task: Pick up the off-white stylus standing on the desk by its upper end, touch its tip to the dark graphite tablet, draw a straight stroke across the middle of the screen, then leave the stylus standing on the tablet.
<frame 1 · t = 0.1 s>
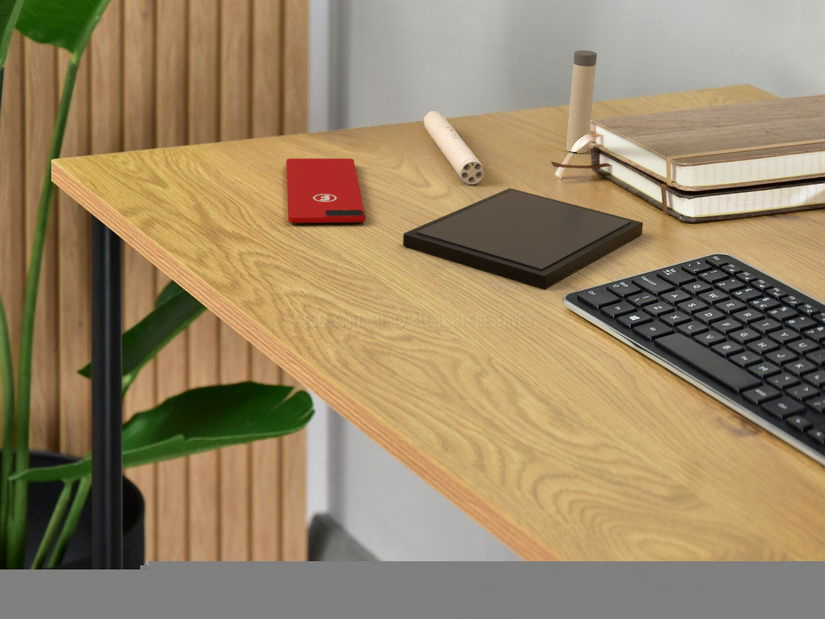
cream cylinder: (449, 155, 108), on the table
stylus: (576, 150, 111), on the table
electronic device: (323, 193, 97), on the table
tablet: (524, 240, 89), on the table
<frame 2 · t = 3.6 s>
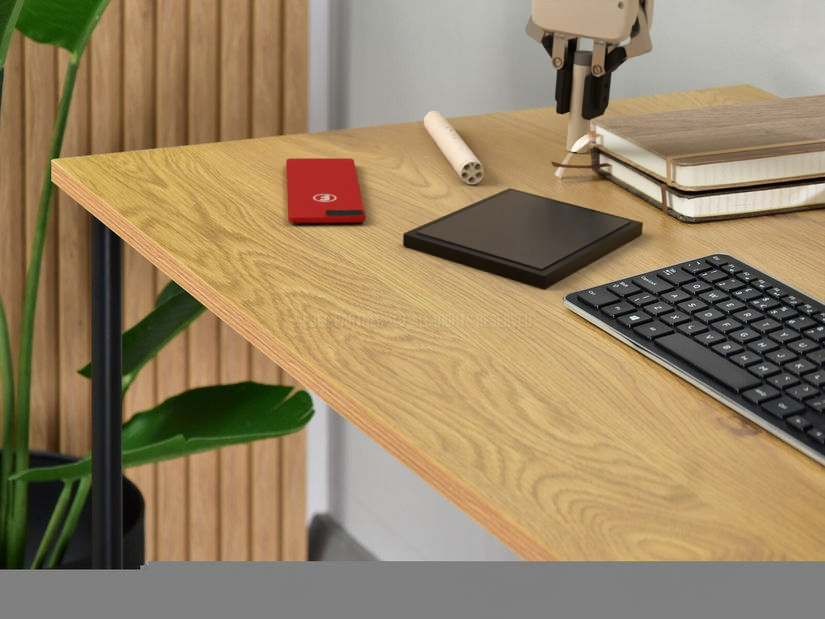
hand: (580, 112, 109), 4 cm above the table, tool pointing down, fingers closed on stylus, 2 cm apart
stylus: (577, 150, 111), on the table, touching gripper
everything else where it was.
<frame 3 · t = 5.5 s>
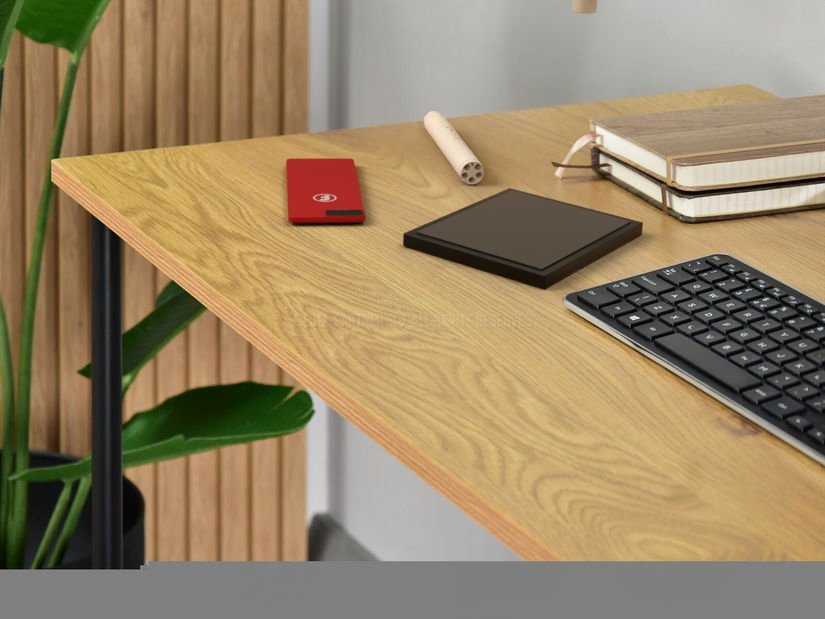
stylus: (584, 11, 100), point 14 cm above the table, touching gripper
everything else where it was.
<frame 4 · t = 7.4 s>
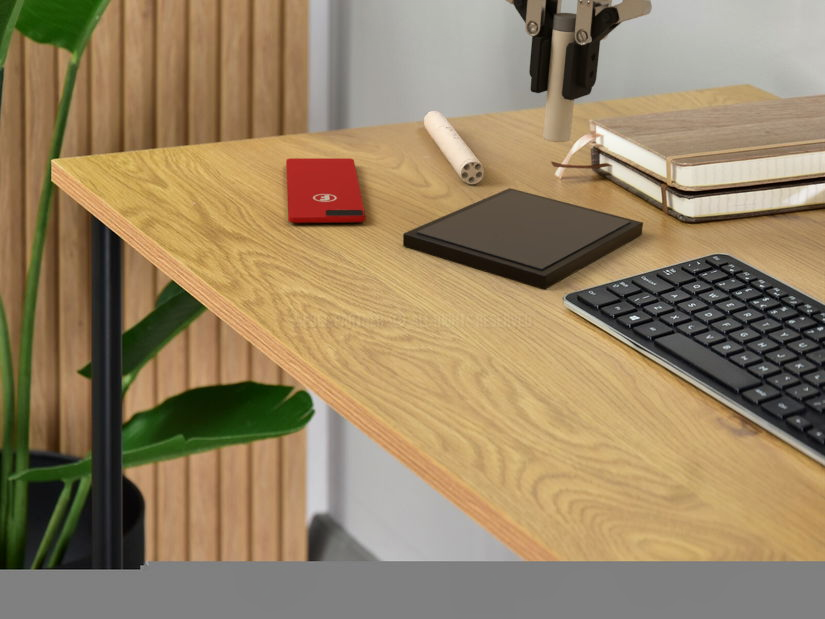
hand: (561, 91, 87), 10 cm above the table, tool pointing down, fingers closed on stylus
stylus: (556, 138, 89), point 7 cm above the table, touching gripper
everything else where it was.
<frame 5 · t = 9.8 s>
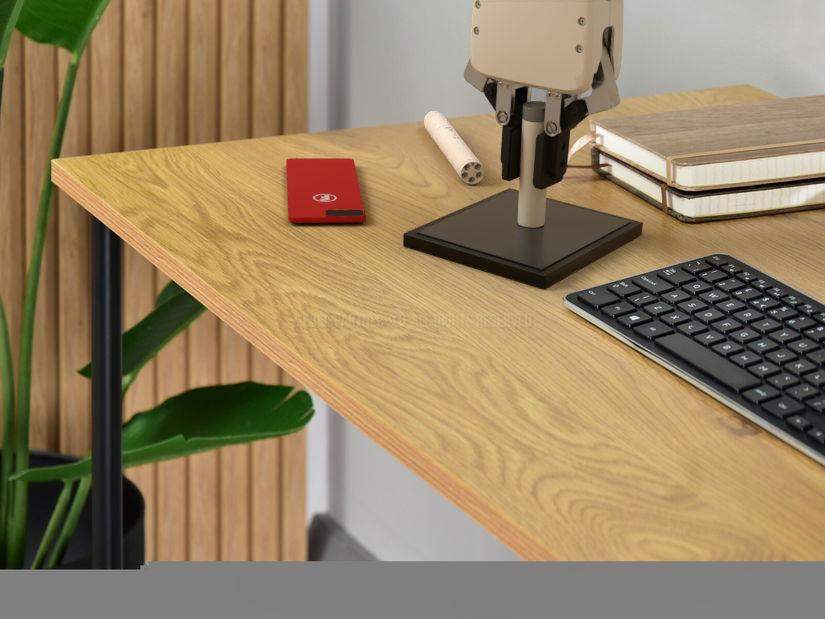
hand: (532, 178, 87), 5 cm above the table, tool pointing down, fingers closed on stylus, 2 cm apart
stylus: (531, 223, 89), point 1 cm above the table, touching gripper, tablet
everything else where it was.
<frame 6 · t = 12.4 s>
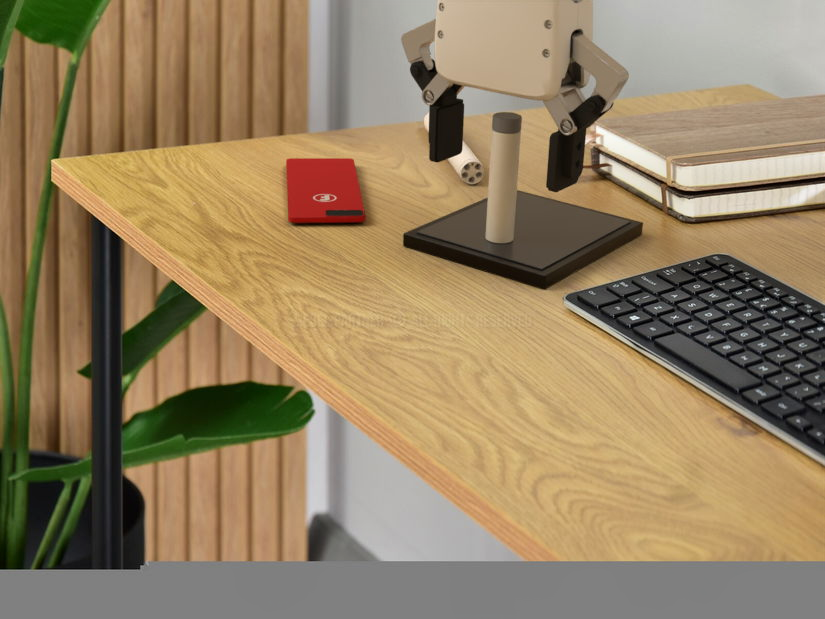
hand: (502, 171, 83), 6 cm above the table, tool pointing down, fingers open, 9 cm apart
stylus: (499, 238, 86), point 1 cm above the table, touching tablet
everything else where it was.
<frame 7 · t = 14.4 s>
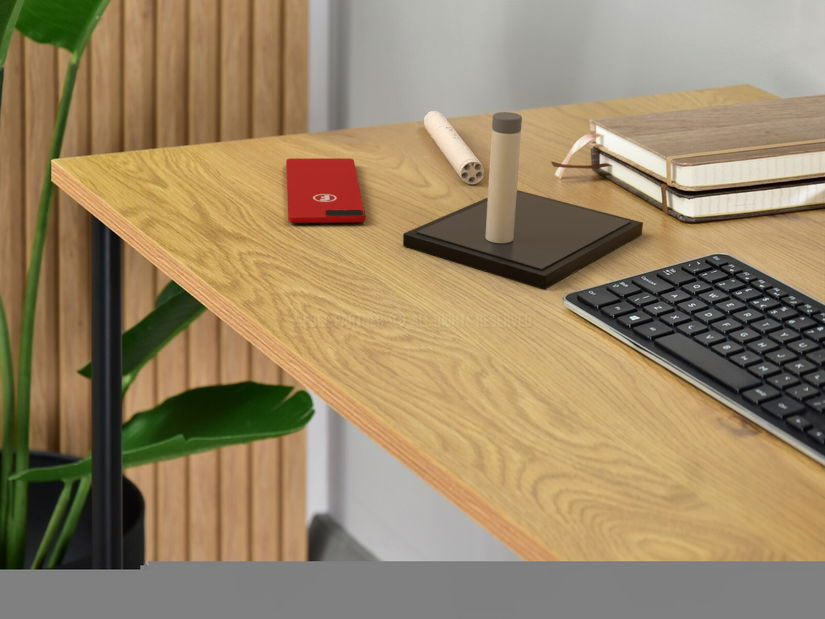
nothing on the table moved.
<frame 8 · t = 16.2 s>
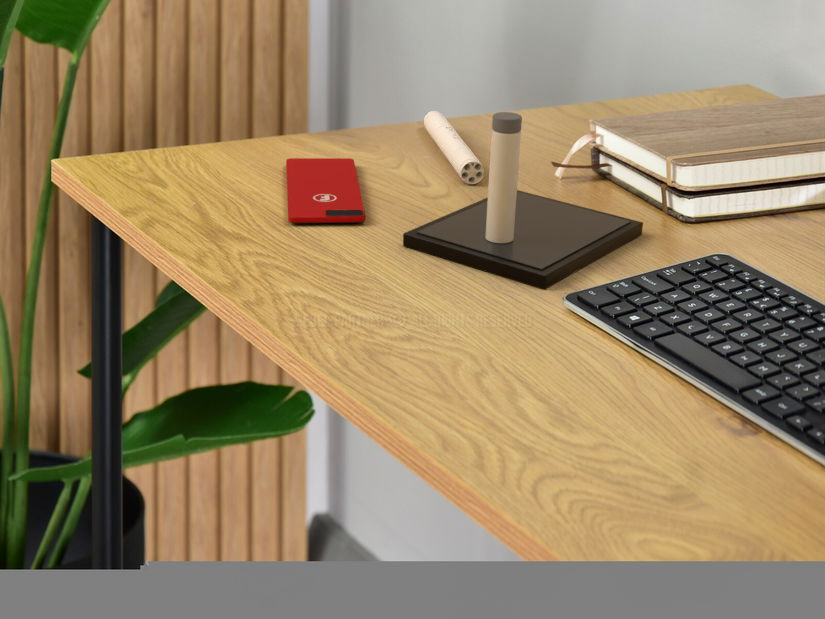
nothing on the table moved.
at the end: stylus inside the target area on the tablet (3.5 cm from its centre), point 1.1 cm above the tablet's base; stylus tilted 0°; the gripper is holding nothing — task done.
